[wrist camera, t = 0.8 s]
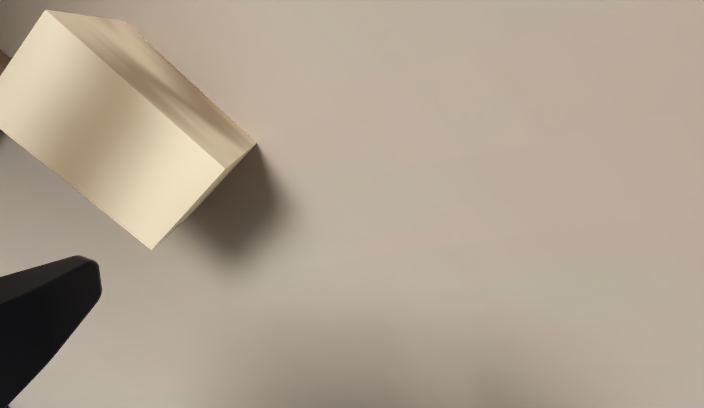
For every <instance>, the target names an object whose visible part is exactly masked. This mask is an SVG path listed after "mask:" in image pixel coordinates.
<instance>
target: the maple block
mask: <svg viewBox="0 0 704 408" xmlns="http://www.w3.org/2000/svg"><path fill="white" fill-rule="evenodd" d="M0 129H1V130H2V131H3V132H4V133H6V134H7V135H8V136H9V137H11V138H12V139H13V140H14V141H16V142H17V143H18V144H19V145H21V146H22V147H23V148H24V149H26V150H27V151H28V152H29V153H31V154H32V155H33V156H34V157H36V158H37V159H38V160H39V161H41V162H42V163H43V164H44V165H46V166H47V167H48V168H49V169H51V170H52V171H53V172H54V173H56V174H57V175H58V176H59V177H61V178H62V179H63V180H64V181H66V182H67V183H68V184H69V185H71V186H72V187H73V188H74V189H75V190H77V191H78V192H79V193H80V194H82V195H83V196H84V197H85V198H87V199H88V200H89V201H90V202H92V203H93V204H94V205H95V206H97V207H98V208H99V209H100V210H102V211H103V212H104V213H105V214H107V215H108V216H109V217H110V218H112V219H113V220H114V221H115V222H117V223H118V224H119V225H120V226H122V227H123V228H124V229H125V230H127V231H128V232H129V233H130V234H132V235H133V236H134V237H135V238H137V239H138V240H139V241H140V242H142V243H143V244H144V245H145V246H147V247H148V248H149V249H150V250H152V249H153V248H155V247H156V246H157V245H158V244H159V243H160V242H161V241H162V240H163V239H164V238H165V237H166V236H168V235H169V234H170V233H171V232H172V231H173V230H174V229H175V228H176V227H177V226H178V225H180V224H181V223H182V222H183V221H184V220H185V219H186V218H187V217H188V216H189V215H190V214H191V213H193V212H194V211H195V210H196V209H197V208H198V207H199V206H200V205H201V204H202V202H203V201H204V200H205V199H206V198H207V197H208V196H209V195H210V194H211V193H212V192H213V190H214V189H215V188H216V187H217V186H218V185H219V184H220V183H221V182H222V181H223V179H224V178H225V177H226V176H227V175H228V174H229V173H230V172H231V171H232V170H233V169H234V167H235V166H236V165H237V164H238V163H239V162H240V161H241V160H242V159H243V158H244V157H245V155H246V154H247V153H248V152H249V151H250V150H251V149H252V148H253V147H254V146H255V145H256V142H255V141H254V140H253V139H252V138H251V137H250V136H249V135H248V134H247V133H246V132H245V131H243V130H242V129H241V128H240V127H239V126H238V125H237V124H236V123H235V122H234V121H233V120H231V119H230V118H229V117H228V116H227V115H226V114H225V113H224V112H223V111H222V110H221V109H219V108H218V107H217V106H216V105H215V104H214V103H213V102H212V101H211V100H210V99H209V98H207V97H206V96H205V95H204V94H203V93H202V92H201V91H200V90H199V89H198V88H197V87H195V86H194V85H193V84H192V83H191V82H190V81H189V80H188V79H187V78H186V77H185V76H183V75H182V74H181V73H180V72H179V71H178V70H177V69H176V68H175V67H174V66H173V65H172V64H170V63H169V62H168V61H167V60H166V59H165V58H164V57H163V56H162V55H161V54H160V53H158V52H157V51H156V50H155V49H154V48H153V47H152V46H151V45H150V44H149V43H148V42H146V41H145V40H144V39H143V38H142V37H141V36H140V35H139V34H138V33H137V32H136V31H134V30H133V29H132V28H131V27H130V26H129V25H128V24H127V23H126V22H125V21H124V20H117V19H110V18H103V17H96V16H88V15H81V14H74V13H67V12H60V11H53V10H45V11H44V12H43V14H42V15H41V16H40V18H39V19H38V21H37V22H36V24H35V25H34V27H33V28H32V30H31V31H30V33H29V34H28V36H27V37H26V39H25V40H24V42H23V43H22V45H21V46H20V48H19V49H18V51H17V52H16V53H15V55H14V56H13V58H12V59H11V61H10V62H9V64H8V65H7V67H6V68H5V70H4V71H3V73H2V74H1V76H0Z"/></svg>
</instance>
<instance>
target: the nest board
mask: <svg viewBox="0 0 704 408" xmlns="http://www.w3.org/2000/svg"><path fill="white" fill-rule="evenodd" d="M10 61H11V58H9V57H8V56H7V55H6V54H5V53H3V52H2V51H1V50H0V76H1V74H2V73H3V71H4V70H5V68H6V67H7V65H8V64H9V62H10Z"/></svg>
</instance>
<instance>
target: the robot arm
mask: <svg viewBox="0 0 704 408" xmlns="http://www.w3.org/2000/svg"><path fill="white" fill-rule="evenodd" d="M101 292H102V286H101V279H100V271H99V265H98V263H97V262H96V261H94V260H92V259H89V258H86V257H83V256H72V257H69V258H65V259H62V260H58V261H55V262H51V263H48V264H44V265H41V266H37V267H34V268H30V269H27V270H23V271H20V272H17V273H13V274H10V275H6V276H3V277H0V408H6V407H7V406H8V405H9V404H10V402H11V401H12V400H13V399H14V398H15V397H16V396H17V395H18V394H19V393H20V392H21V391H22V390H23V389H24V388H25V387H26V386H27V385H28V384H29V383H30V382H31V381H32V380H33V379H34V378H35V376H36V375H37V374H38V373H39V372H40V371H41V370H42V369H43V368H44V367H45V366H46V365H47V364H48V362H49V361H50V360H51V359H52V358H53V357H54V355H55V354H56V353H57V352H58V351H59V349H60V348H61V347H62V346H63V344H64V343H65V342H66V341H67V339H68V338H69V337H70V336H71V334H72V333H73V332H74V331H75V329H76V328H77V327H78V326H79V324H80V323H81V322H82V321H83V319H84V318H85V317H86V316H87V314H88V313H89V312H90V311H91V309H92V308H93V307H94V306H95V304H96V303H97V302H98V300H99V298H100V296H101Z"/></svg>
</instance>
